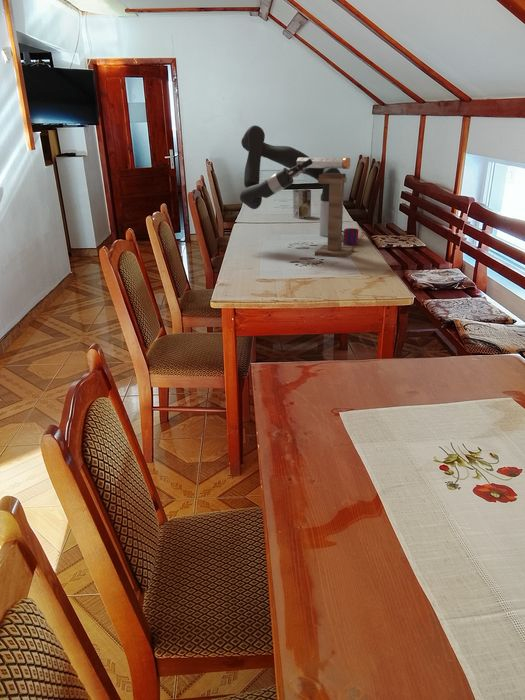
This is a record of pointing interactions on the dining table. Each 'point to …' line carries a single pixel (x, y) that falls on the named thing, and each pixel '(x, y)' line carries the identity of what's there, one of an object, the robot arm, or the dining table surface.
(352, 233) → the mug
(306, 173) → the robot arm
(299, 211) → the coffee box
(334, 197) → the stand
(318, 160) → the rod
